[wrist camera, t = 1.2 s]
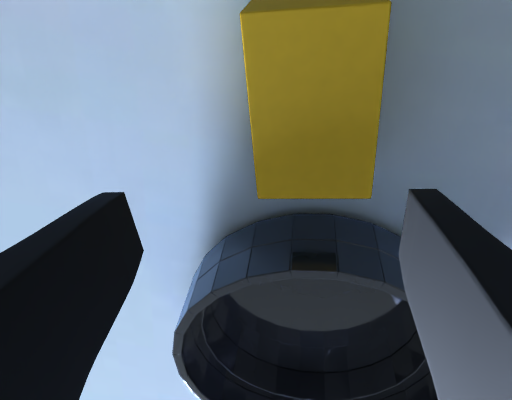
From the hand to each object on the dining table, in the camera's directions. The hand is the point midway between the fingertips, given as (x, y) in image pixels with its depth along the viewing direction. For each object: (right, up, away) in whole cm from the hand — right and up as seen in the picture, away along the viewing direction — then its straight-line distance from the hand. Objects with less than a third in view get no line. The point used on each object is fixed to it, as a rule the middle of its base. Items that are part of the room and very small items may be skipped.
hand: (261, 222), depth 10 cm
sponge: (+2, +5, +6) cm, 8 cm away
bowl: (+3, -6, +14) cm, 15 cm away
